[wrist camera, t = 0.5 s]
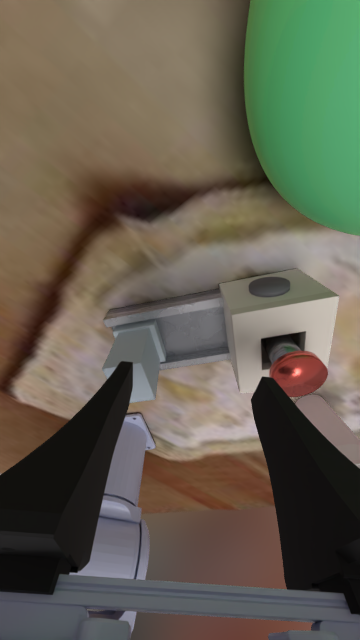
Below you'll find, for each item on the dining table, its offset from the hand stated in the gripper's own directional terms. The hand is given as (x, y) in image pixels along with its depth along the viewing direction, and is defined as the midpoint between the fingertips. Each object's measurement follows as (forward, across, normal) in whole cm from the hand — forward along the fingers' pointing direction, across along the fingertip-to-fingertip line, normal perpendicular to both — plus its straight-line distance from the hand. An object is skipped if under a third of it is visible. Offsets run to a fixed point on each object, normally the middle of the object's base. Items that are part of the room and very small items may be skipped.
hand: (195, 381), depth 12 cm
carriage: (+9, +4, +5) cm, 11 cm away
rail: (+10, +2, +4) cm, 11 cm away
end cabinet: (+10, -7, +1) cm, 13 cm away
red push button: (+6, -7, +1) cm, 9 cm away
